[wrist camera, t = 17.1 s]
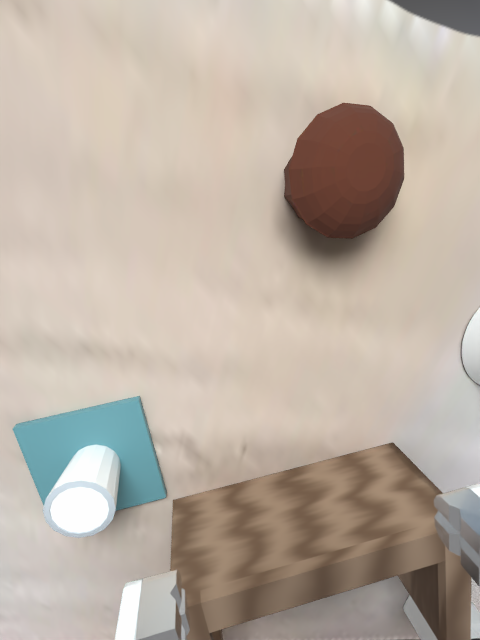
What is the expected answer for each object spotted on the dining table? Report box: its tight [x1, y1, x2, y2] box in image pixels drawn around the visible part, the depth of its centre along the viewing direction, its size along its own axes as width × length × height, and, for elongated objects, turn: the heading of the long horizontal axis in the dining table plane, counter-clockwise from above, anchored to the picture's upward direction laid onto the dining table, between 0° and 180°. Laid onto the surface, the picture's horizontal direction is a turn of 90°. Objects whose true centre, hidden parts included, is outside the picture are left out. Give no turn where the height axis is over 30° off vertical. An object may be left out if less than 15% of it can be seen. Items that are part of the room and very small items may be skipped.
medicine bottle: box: [403, 594, 480, 640], centre depth 52 cm, size 7×7×12 cm
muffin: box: [284, 103, 404, 239], centre depth 34 cm, size 12×11×10 cm
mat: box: [13, 396, 167, 511], centre depth 42 cm, size 14×14×1 cm
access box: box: [170, 443, 471, 640], centre depth 44 cm, size 31×23×14 cm
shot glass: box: [43, 445, 121, 538], centre depth 38 cm, size 7×7×7 cm
